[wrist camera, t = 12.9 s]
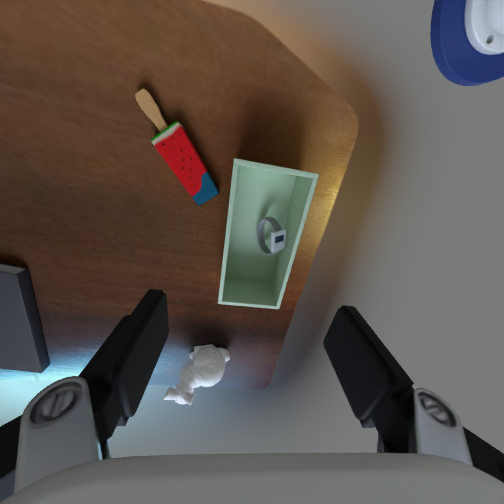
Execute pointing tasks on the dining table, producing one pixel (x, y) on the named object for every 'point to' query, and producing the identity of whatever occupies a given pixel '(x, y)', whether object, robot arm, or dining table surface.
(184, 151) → the popsicle
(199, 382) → the rabbit
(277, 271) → the bin
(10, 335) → the notebook
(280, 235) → the wristwatch
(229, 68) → the dining table surface
